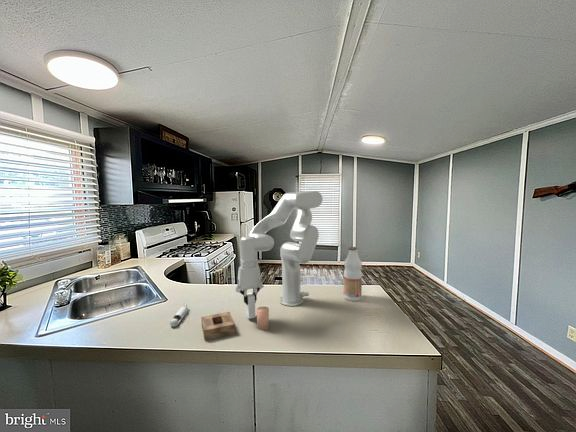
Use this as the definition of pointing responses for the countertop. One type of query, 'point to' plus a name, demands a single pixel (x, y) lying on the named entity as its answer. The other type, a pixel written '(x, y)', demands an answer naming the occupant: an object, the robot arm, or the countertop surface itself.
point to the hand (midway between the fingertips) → (250, 302)
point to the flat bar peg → (250, 305)
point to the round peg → (263, 318)
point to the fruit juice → (352, 276)
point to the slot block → (217, 325)
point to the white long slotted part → (179, 316)
